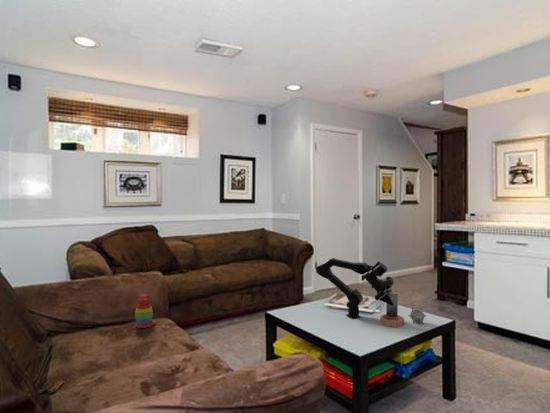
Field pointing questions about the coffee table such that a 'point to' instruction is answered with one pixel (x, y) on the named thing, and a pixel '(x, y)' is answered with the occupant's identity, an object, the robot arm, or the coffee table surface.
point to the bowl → (392, 321)
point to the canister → (393, 310)
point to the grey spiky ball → (417, 315)
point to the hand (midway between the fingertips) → (394, 303)
